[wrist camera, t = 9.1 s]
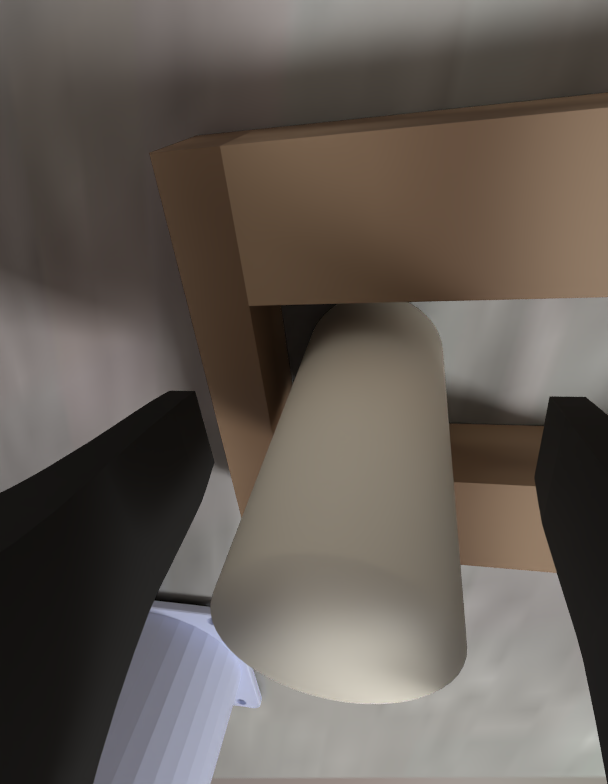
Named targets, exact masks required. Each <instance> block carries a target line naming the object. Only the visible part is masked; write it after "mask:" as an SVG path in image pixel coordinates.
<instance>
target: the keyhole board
mask: <svg viewBox="0 0 608 784" xmlns="http://www.w3.org/2000/svg"><path fill="white" fill-rule="evenodd" d="M149 154H150V158H151V162H152V166H153V170H154V174H155V178H156V182H157V186H158V190H159V194H160V198H161V202H162V206H163V209H164V213H165V217H166V221H167V225H168V229H169V233H170V237H171V241H172V245H173V249H174V253H175V257H176V261H177V265H178V269H179V273H180V277H181V281H182V285H183V288H184V292H185V296H186V300H187V304H188V308H189V312H190V316H191V320H192V324H193V328H194V332H195V336H196V340H197V344H198V348H199V352H200V356H201V360H202V364H203V367H204V371H205V375H206V379H207V383H208V387H209V391H210V395H211V399H212V403H213V407H214V411H215V415H216V419H217V423H218V427H219V431H220V435H221V439H222V443H223V446H224V450H225V454H226V458H227V462H228V466H229V470H230V474H231V478H232V482H233V486H234V490H235V494H236V498H237V502H238V506H239V510H240V514H241V518H242V516H243V513H244V511H245V508H246V506H247V503H248V500H249V498H250V495H251V492H252V490H253V487H254V485H255V482H256V479H257V477H258V474H259V472H260V469H261V466H262V464H263V461H264V458H265V456H266V453H267V451H268V448H269V445H270V443H271V440H272V438H273V435H274V432H275V430H276V427H277V424H278V422H279V419H280V417H281V414H282V411H283V409H284V406H285V403H286V401H287V398H288V396H289V393H290V390H291V388H292V379H291V372H290V365H289V358H288V351H287V344H286V337H285V330H284V323H283V317H282V310H281V305H302V304H342V303H383V302H424V301H464V300H505V299H546V298H586V297H608V93H598V94H589V95H579V96H570V97H560V98H551V99H541V100H532V101H522V102H512V103H503V104H493V105H484V106H474V107H465V108H455V109H446V110H436V111H427V112H417V113H408V114H398V115H389V116H379V117H370V118H360V119H351V120H341V121H332V122H322V123H313V124H303V125H294V126H284V127H275V128H265V129H256V130H246V131H237V132H227V133H218V134H208V135H199V136H194V137H191V138H189V139H186V140H183V141H181V142H178V143H175V144H172V145H170V146H167V147H164V148H161V149H159V150H156V151H153V152H150V153H149ZM543 429H544V426H527V425H490V424H452V423H449V431H450V444H451V456H452V468H453V480H454V493H455V505H456V517H457V530H458V542H459V554H460V565H471V566H483V567H494V568H506V569H518V570H529V571H541V572H553V573H557V572H556V568H555V565H554V562H553V559H552V556H551V552H550V549H549V546H548V542H547V539H546V536H545V533H544V529H543V526H542V521H541V516H540V510H539V505H538V499H537V492H536V486H535V479H534V476H535V471H536V465H537V460H538V455H539V450H540V445H541V439H542V434H543Z"/></svg>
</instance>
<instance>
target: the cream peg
mask: <svg viewBox="0 0 608 784" xmlns="http://www.w3.org/2000/svg"><path fill="white" fill-rule="evenodd" d="M210 612H211V617H212V622H213V624H214V627H215V629H216V631H217V633H218V635H219V636H220V638H221V639H222V641H223V642H224V643H225V644H226V646H227V647H228V648H229V649H230V650H231V651H232V652H233V653H234V654H235V655H236V656H237V657H238V658H239V659H241V660H242V661H243V662H244V663H246V664H247V665H248V666H250V667H251V668H253V669H254V670H256V671H257V672H259V673H261V674H262V675H264V676H266V677H267V678H269V679H271V680H273V681H276V682H278V683H280V684H282V685H284V686H287V687H289V688H292V689H294V690H297V691H300V692H303V693H306V694H309V695H313V696H317V697H321V698H325V699H330V700H335V701H341V702H348V703H359V704H388V703H398V702H405V701H410V700H414V699H418V698H421V697H424V696H427V695H430V694H432V693H434V692H436V691H438V690H440V689H442V688H443V687H445V686H446V685H448V684H449V683H450V682H452V681H453V680H454V678H455V677H456V676H457V675H458V674H459V673H460V671H461V669H462V668H463V666H464V663H465V660H466V656H467V640H466V628H465V616H464V603H463V591H462V579H461V566H460V554H459V542H458V530H457V517H456V505H455V493H454V480H453V468H452V456H451V444H450V431H449V419H448V407H447V394H446V382H445V370H444V358H443V348H442V342H441V339H440V336H439V333H438V331H437V329H436V327H435V326H434V324H433V323H432V321H431V320H430V319H429V318H428V317H427V316H426V315H425V314H424V313H423V312H422V311H421V310H419V309H418V308H417V307H415V306H413V305H412V304H410V303H408V302H383V303H342V304H337V305H336V306H334V307H333V308H331V309H330V310H329V311H328V312H327V313H325V315H324V316H323V317H322V318H321V319H320V320H319V322H318V323H317V325H316V326H315V329H314V331H313V333H312V335H311V338H310V341H309V343H308V346H307V348H306V351H305V354H304V356H303V359H302V362H301V364H300V367H299V369H298V372H297V375H296V377H295V380H294V383H293V385H292V388H291V390H290V393H289V396H288V398H287V401H286V403H285V406H284V409H283V411H282V414H281V417H280V419H279V422H278V424H277V427H276V430H275V432H274V435H273V438H272V440H271V443H270V445H269V448H268V451H267V453H266V456H265V458H264V461H263V464H262V466H261V469H260V472H259V474H258V477H257V479H256V482H255V485H254V487H253V490H252V492H251V495H250V498H249V500H248V503H247V506H246V508H245V511H244V513H243V516H242V519H241V521H240V524H239V527H238V529H237V532H236V534H235V537H234V540H233V542H232V545H231V547H230V550H229V553H228V555H227V558H226V561H225V563H224V566H223V568H222V571H221V574H220V576H219V579H218V581H217V584H216V587H215V589H214V592H213V595H212V599H211V605H210Z"/></svg>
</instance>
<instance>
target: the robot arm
mask: <svg viewBox="0 0 608 784" xmlns="http://www.w3.org/2000/svg"><path fill="white" fill-rule="evenodd" d="M213 465H214V459H213V455H212V452H211V448H210V444H209V441H208V437H207V433H206V430H205V426H204V422H203V419H202V415H201V411H200V408H199V404H198V400H197V397H196V393H195V391H169V392H167V393H165V394H163V395H161V396H159V397H158V398H156V399H154V400H153V401H151V402H149V403H148V404H146V405H145V406H143V407H142V408H140V409H139V410H137V411H136V412H134V413H133V414H131V415H129V416H128V417H126V418H125V419H123V420H122V421H120V422H119V423H117V424H116V425H114V426H113V427H111V428H110V429H108V430H107V431H105V432H104V433H102V434H101V435H99V436H98V437H96V438H95V439H93V440H91V441H90V442H88V443H87V444H85V445H83V446H82V447H80V448H79V449H77V450H75V451H74V452H72V453H70V454H69V455H67V456H65V457H64V458H62V459H60V460H59V461H57V462H56V463H54V464H52V465H51V466H49V467H47V468H46V469H44V470H42V471H40V472H39V473H37V474H35V475H33V476H32V477H30V478H28V479H26V480H24V481H22V482H21V483H19V484H17V485H15V486H13V487H11V488H9V489H7V490H5V491H3V492H1V493H0V784H211V780H212V777H213V773H214V770H215V766H216V763H217V759H218V756H219V752H220V749H221V745H222V742H223V738H224V735H225V731H226V728H227V724H228V721H229V717H230V714H231V710H232V707H233V705H237V706H244V707H250V708H258V707H259V706H260V704H261V700H262V697H261V694H260V690H259V687H258V684H257V681H256V677H255V674H254V671H253V668H251V667H250V666H248V665H247V664H246V663H244V662H243V661H242V660H241V659H239V658H238V657H237V656H236V655H235V654H234V653H233V652H232V651H231V650H230V649H229V648H228V647H227V646H226V644H225V643H224V642H223V641H222V639H221V638H220V636H219V635H218V633H217V631H216V629H215V627H214V624H213V622H212V617H211V612H210V607H208V606H199V605H191V604H182V603H173V602H165V601H156V600H155V597H156V595H157V593H158V591H159V588H160V586H161V584H162V582H163V580H164V578H165V576H166V574H167V572H168V570H169V568H170V566H171V564H172V562H173V560H174V558H175V556H176V554H177V552H178V550H179V548H180V546H181V544H182V542H183V540H184V538H185V536H186V533H187V531H188V529H189V527H190V525H191V523H192V521H193V519H194V517H195V515H196V513H197V511H198V508H199V506H200V504H201V502H202V499H203V496H204V493H205V490H206V487H207V484H208V481H209V478H210V475H211V471H212V468H213ZM534 479H535V486H536V492H537V499H538V505H539V510H540V516H541V521H542V526H543V529H544V533H545V536H546V539H547V542H548V546H549V549H550V552H551V556H552V559H553V562H554V565H555V568H556V572H557V575H558V578H559V581H560V584H561V588H562V591H563V594H564V597H565V600H566V603H567V607H568V610H569V613H570V616H571V619H572V623H573V626H574V629H575V632H576V635H577V639H578V643H579V647H580V650H581V654H582V658H583V662H584V666H585V671H586V676H587V681H588V686H589V691H590V696H591V701H592V705H593V710H594V715H595V720H596V725H597V731H598V736H599V742H600V747H601V752H602V758H603V763H604V768H605V774H606V779H607V784H608V415H607V414H605V413H604V412H603V411H602V410H601V409H600V408H598V407H597V406H596V405H595V404H594V403H592V402H591V401H590V400H589V399H587V398H586V397H550V398H549V403H548V408H547V413H546V419H545V424H544V429H543V434H542V439H541V445H540V450H539V455H538V460H537V465H536V471H535V476H534Z"/></svg>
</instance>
